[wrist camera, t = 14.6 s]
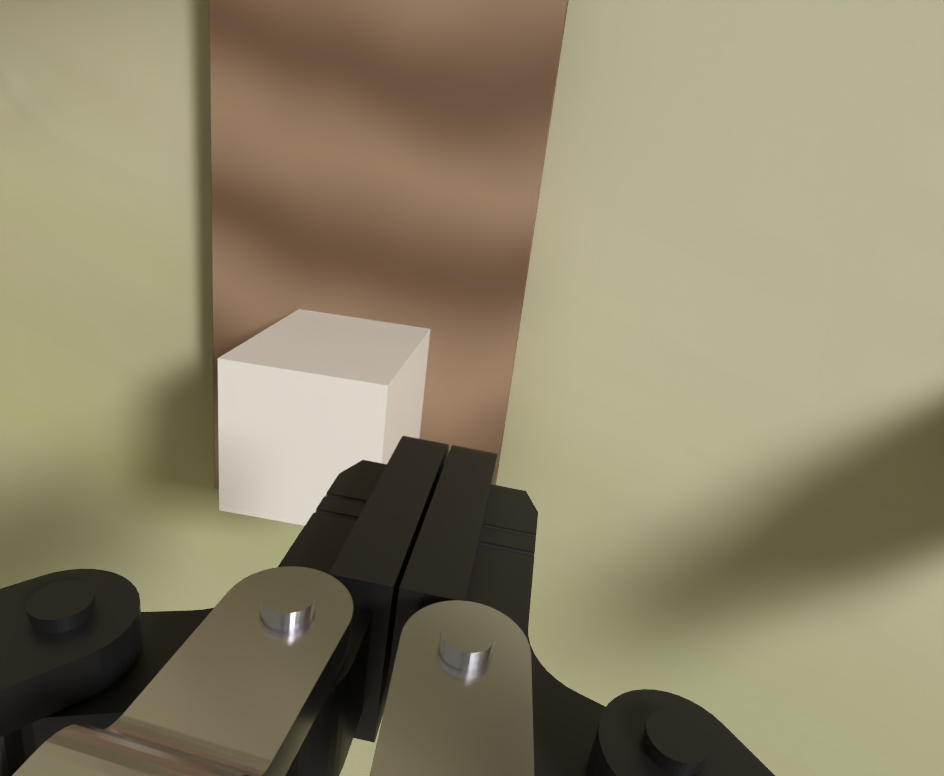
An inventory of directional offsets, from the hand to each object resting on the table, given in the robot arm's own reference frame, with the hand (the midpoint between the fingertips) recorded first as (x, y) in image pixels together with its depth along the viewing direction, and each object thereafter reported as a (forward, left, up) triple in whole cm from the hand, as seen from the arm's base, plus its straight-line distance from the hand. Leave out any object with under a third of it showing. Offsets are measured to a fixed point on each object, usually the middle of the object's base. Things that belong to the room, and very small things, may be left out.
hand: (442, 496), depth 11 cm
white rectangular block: (+4, -6, -16) cm, 17 cm away
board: (-1, -6, -17) cm, 18 cm away
